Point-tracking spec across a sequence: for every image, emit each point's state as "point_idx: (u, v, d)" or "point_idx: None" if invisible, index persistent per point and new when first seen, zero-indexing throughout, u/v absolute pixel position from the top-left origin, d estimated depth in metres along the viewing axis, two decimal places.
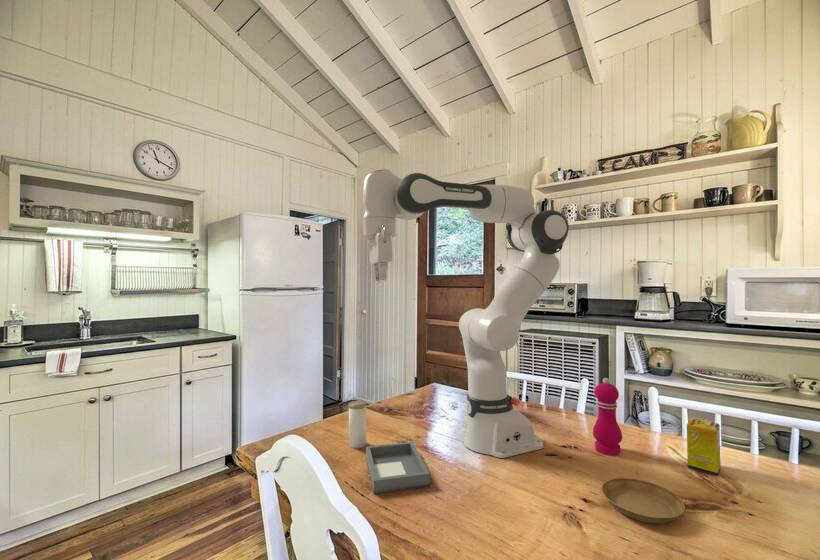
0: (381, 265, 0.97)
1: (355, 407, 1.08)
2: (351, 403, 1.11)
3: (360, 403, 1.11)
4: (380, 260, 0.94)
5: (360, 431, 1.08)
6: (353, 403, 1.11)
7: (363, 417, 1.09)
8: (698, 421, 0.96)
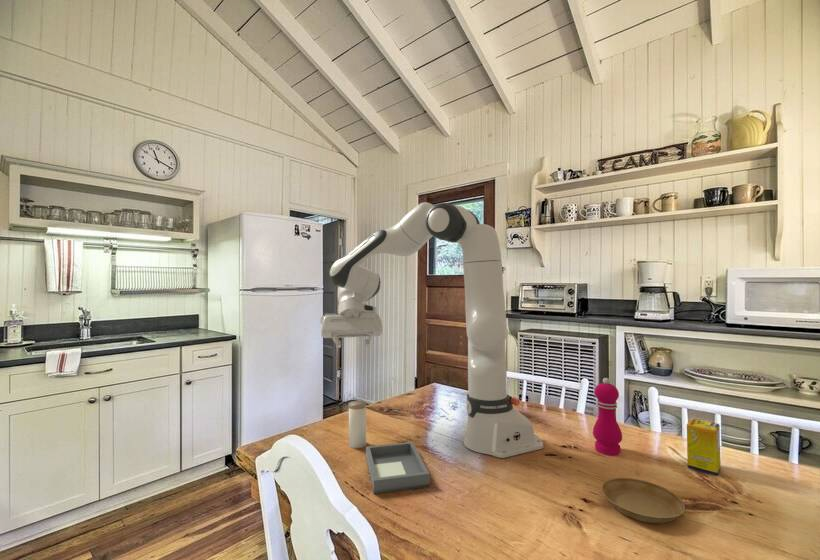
0: None
1: (355, 407, 1.08)
2: (351, 403, 1.11)
3: (360, 403, 1.11)
4: None
5: (360, 431, 1.08)
6: (353, 403, 1.11)
7: (363, 417, 1.09)
8: (698, 421, 0.96)
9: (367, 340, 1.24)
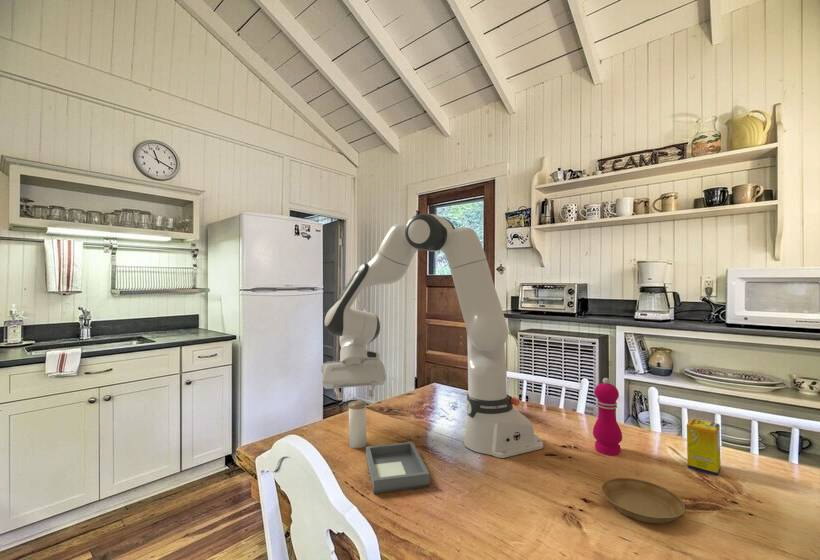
0: (334, 389, 1.19)
1: (355, 407, 1.08)
2: (351, 403, 1.11)
3: (360, 403, 1.11)
4: (324, 387, 1.19)
5: (360, 431, 1.08)
6: (353, 403, 1.11)
7: (363, 417, 1.09)
8: (698, 421, 0.96)
9: (370, 390, 1.18)
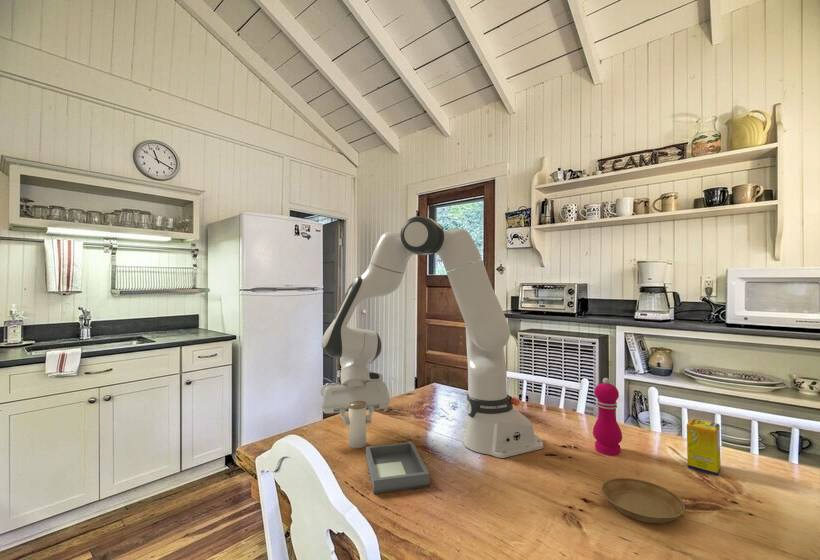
0: None
1: (355, 407, 1.08)
2: (351, 403, 1.11)
3: (360, 403, 1.11)
4: (324, 412, 1.12)
5: (360, 431, 1.08)
6: (353, 403, 1.11)
7: (363, 417, 1.09)
8: (698, 421, 0.96)
9: (368, 416, 1.11)
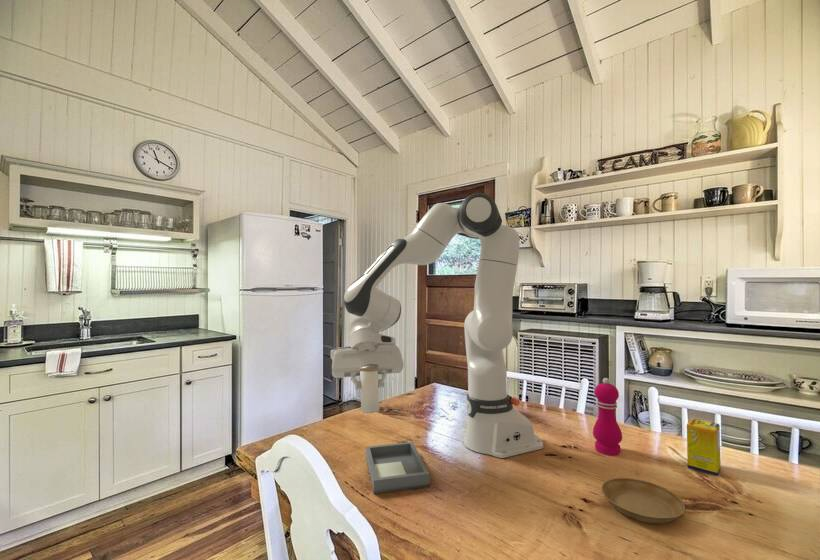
0: None
1: (367, 369, 1.01)
2: (362, 366, 1.04)
3: (372, 366, 1.03)
4: (334, 376, 1.05)
5: (373, 395, 1.01)
6: (365, 366, 1.04)
7: (375, 380, 1.02)
8: (698, 421, 0.96)
9: (381, 379, 1.04)
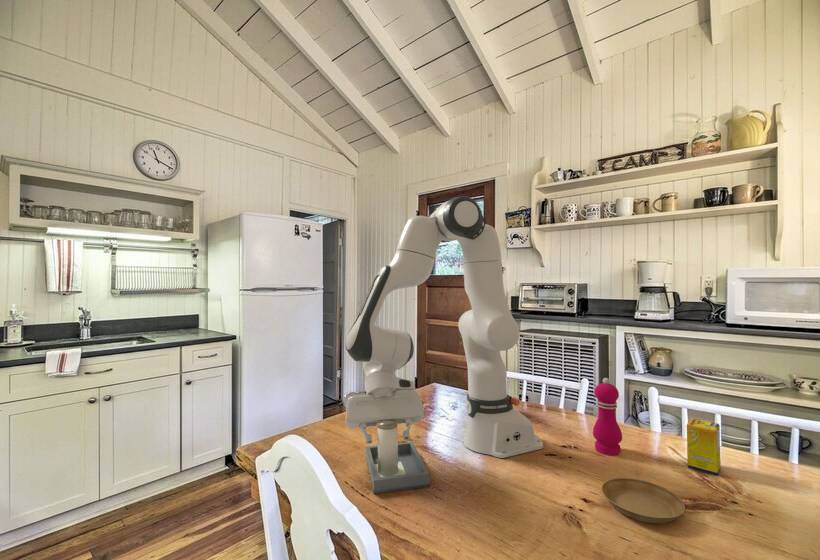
0: (360, 429, 0.94)
1: (385, 427, 0.91)
2: (380, 421, 0.94)
3: (391, 422, 0.93)
4: None
5: (391, 455, 0.91)
6: (382, 421, 0.94)
7: (395, 439, 0.92)
8: (698, 421, 0.96)
9: (406, 431, 0.94)
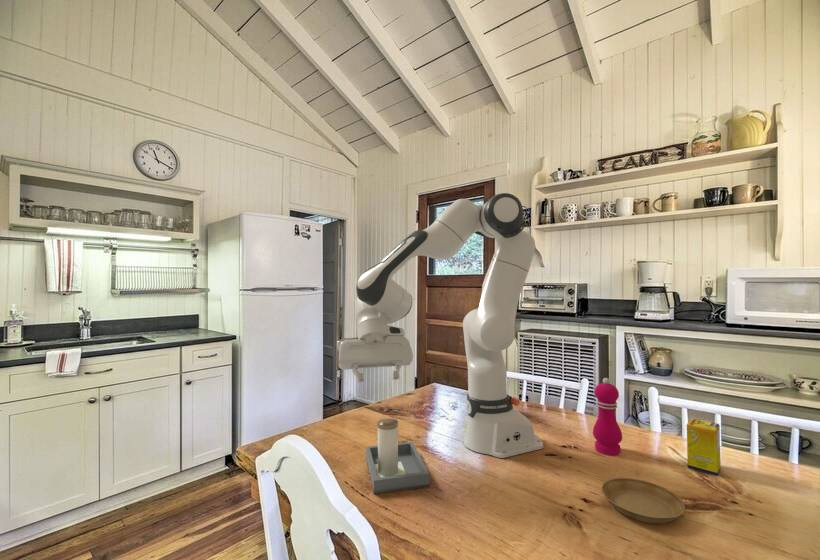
0: (352, 370, 1.00)
1: (386, 427, 0.91)
2: (380, 421, 0.94)
3: (391, 422, 0.93)
4: (340, 368, 1.00)
5: (392, 455, 0.91)
6: (382, 421, 0.94)
7: (395, 439, 0.92)
8: (698, 421, 0.96)
9: (395, 371, 1.00)
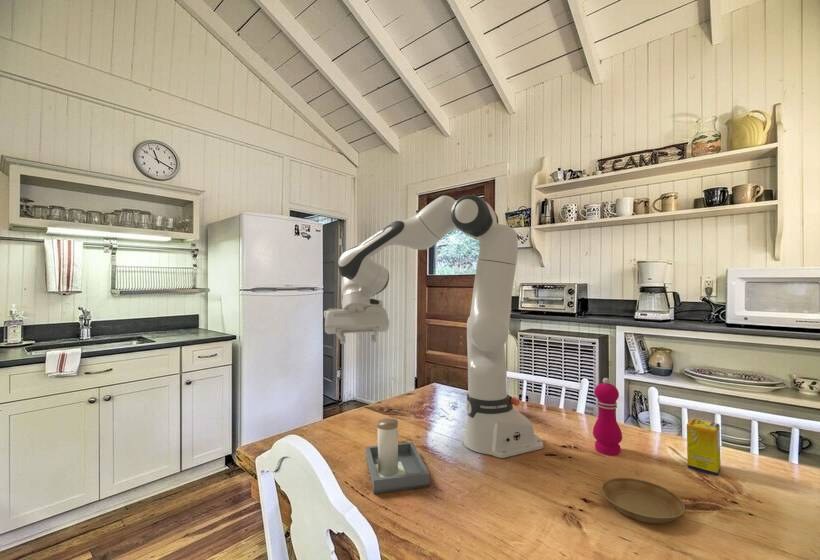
0: (336, 334, 1.17)
1: (386, 427, 0.91)
2: (380, 421, 0.94)
3: (391, 422, 0.93)
4: (326, 332, 1.18)
5: (392, 455, 0.91)
6: (382, 421, 0.94)
7: (395, 439, 0.92)
8: (698, 421, 0.96)
9: (373, 335, 1.17)
